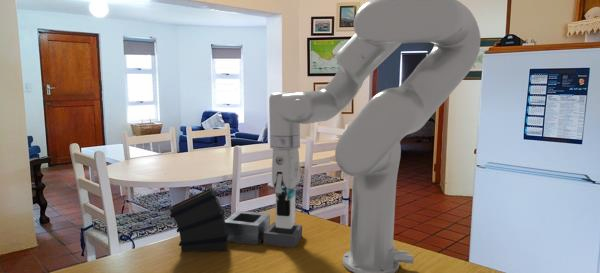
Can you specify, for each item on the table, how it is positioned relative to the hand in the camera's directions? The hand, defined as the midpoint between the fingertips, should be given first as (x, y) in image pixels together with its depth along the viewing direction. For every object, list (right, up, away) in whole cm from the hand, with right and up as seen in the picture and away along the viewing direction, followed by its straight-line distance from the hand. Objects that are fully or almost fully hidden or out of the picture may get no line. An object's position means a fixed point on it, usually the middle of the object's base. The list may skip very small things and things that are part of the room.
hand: (286, 212), depth 105 cm
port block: (-10, -7, +4) cm, 13 cm away
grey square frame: (-1, -8, +1) cm, 8 cm away
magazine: (-21, -8, -5) cm, 23 cm away
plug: (0, -4, 0) cm, 4 cm away
